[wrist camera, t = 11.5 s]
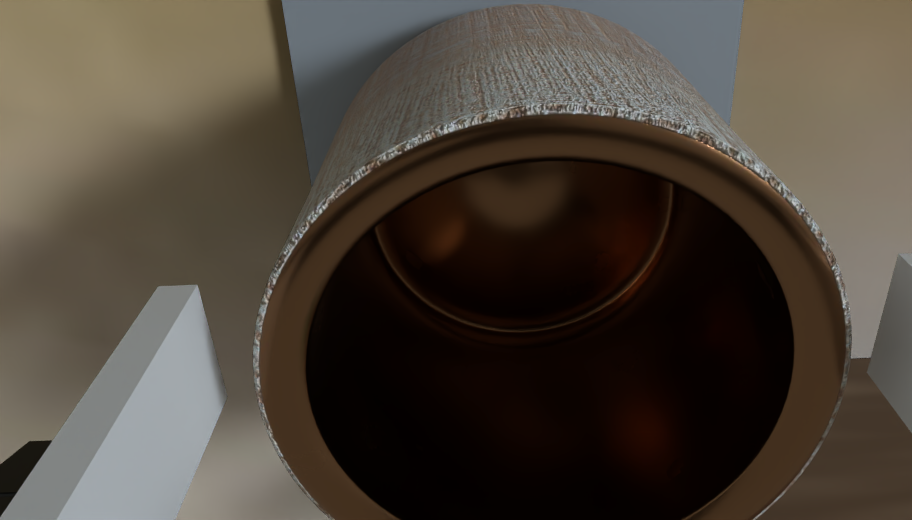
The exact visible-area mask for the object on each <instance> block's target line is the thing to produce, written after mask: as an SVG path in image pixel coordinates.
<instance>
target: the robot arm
mask: <svg viewBox="0 0 912 520" xmlns="http://www.w3.org/2000/svg"><path fill="white" fill-rule="evenodd" d="M867 373H868V375H869V376H870V377H871V379H872V380H873V381H874V383H875V384H876V386H877V387H878V388H879V390H880V391H881V392H882V394H883V395H884V396H885V398H886V399H887V400H888V402H889V403H890V404H891V406H892V407H893V409H894V410H895V411H896V413H897V414H898V415H899V417H900V418H901V419H902V421H903V422H904V423H905V425H906V426H907V427H908V429H909V430H910V431H911V433H912V253H903V254H898V257H897V261H896V265H895V269H894V272H893V276H892V280H891V284H890V287H889V291H888V295H887V299H886V302H885V306H884V310H883V314H882V318H881V321H880V325H879V329H878V333H877V336H876V340H875V344H874V348H873V351H872V355H871V359H870V363H869V366H868V370H867ZM227 397H228V396H227V393H226V389H225V385H224V381H223V378H222V374H221V370H220V367H219V363H218V359H217V355H216V352H215V348H214V344H213V341H212V337H211V333H210V329H209V326H208V322H207V318H206V315H205V311H204V307H203V303H202V300H201V296H200V292H199V288H198V285H177V286H158V287H157V289H156V290H155V292H154V293H153V295H152V296H151V298H150V299H149V300H148V302H147V303H146V305H145V306H144V308H143V309H142V311H141V312H140V314H139V315H138V317H137V318H136V319H135V321H134V322H133V324H132V325H131V327H130V328H129V330H128V331H127V333H126V334H125V336H124V337H123V338H122V340H121V341H120V343H119V344H118V346H117V347H116V349H115V350H114V352H113V353H112V355H111V356H110V357H109V359H108V360H107V362H106V363H105V365H104V366H103V368H102V369H101V371H100V372H99V374H98V375H97V376H96V378H95V379H94V381H93V382H92V384H91V385H90V387H89V388H88V390H87V391H86V393H85V394H84V396H83V397H82V398H81V400H80V401H79V403H78V404H77V406H76V407H75V409H74V410H73V412H72V413H71V415H70V416H69V417H68V419H67V420H66V422H65V423H64V425H63V426H62V428H61V429H60V431H59V432H58V434H57V435H56V436H55V438H54V439H53V441H29V442H28V443H27V444H25V445H24V446H23V447H22V448H20V449H19V450H18V451H17V452H15V453H14V454H13V455H12V456H10V457H9V458H8V459H7V460H5V461H4V462H3V463H2V464H0V520H175V519H176V516H177V514H178V512H179V509H180V507H181V505H182V502H183V500H184V498H185V495H186V493H187V491H188V488H189V486H190V484H191V481H192V479H193V477H194V474H195V472H196V470H197V467H198V465H199V463H200V460H201V458H202V456H203V453H204V451H205V448H206V446H207V444H208V441H209V439H210V437H211V434H212V432H213V430H214V427H215V425H216V423H217V420H218V418H219V416H220V413H221V411H222V409H223V406H224V404H225V402H226V399H227Z"/></svg>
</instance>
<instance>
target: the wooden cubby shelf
mask: <svg viewBox="0 0 912 520" xmlns="http://www.w3.org/2000/svg"><path fill="white" fill-rule="evenodd" d="M870 359H871V358H864V359H850V366H849V372H848V377H847V383H846V386H845V390H844V393H843V397H842V401H841V404H840V406H839V409H838V411H837V414H836V417H835V419H834V421H833V424H832V426H831V428H830V430H829V432H828V434H827V436H826V438H825V440H824V441H823V443H822V445H821V446H820V448H819V450H818V451H817V453H816V455H815V456H814V457H813V459H812V460H811V462H810V463H809V465H808V466H807V467H806V469H805V470H804V471H803V473H802V474H801V475H800V476H799V477H798V479H797V480H796V481H795V482H794V484H793V485H792V486H791V487H790V488H789V489H788V490H787V491H786V492H785V493H784V494H783V495H782V496H781V497H780V498H779V499H778V500H777V501H776V502H775V503H774V504H773V505H772V506H771V507H770V508H769V509H767V510H766V511H765V512H764V513H763V514H762V515H760V516H759V517H758V518H757V519H755V520H912V433H911V431H910V430H909V429H908V427H907V426H906V425H905V423H904V422H903V421H902V419H901V418H900V417H899V415H898V414H897V413H896V411H895V410H894V409H893V407H892V406H891V404H890V403H889V402H888V400H887V399H886V398H885V396H884V395H883V394H882V392H881V391H880V390H879V388H878V387H877V386H876V384H875V383H874V381H873V380H872V379H871V377H870V376H869V375H868V373H867V370H868V366H869V363H870Z"/></svg>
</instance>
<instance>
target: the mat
mask: <svg viewBox="0 0 912 520" xmlns="http://www.w3.org/2000/svg"><path fill="white" fill-rule="evenodd" d="M512 4H545V5H554V6H560V7H566V8H572V9H576V10H580V11H584V12H588V13H591V14H594V15H597V16H600V17H603V18H605V19H607V20H609V21H612V22H614V23H616V24H619V25H620V26H622V27H624V28H626V29H628V30H630V31H632V32H633V33H635V34H636V35H638V36H639V37H641V38H642V39H644V40H645V41H647V42H648V43H649V44H651V45H652V46H653V47H654V48H656V49H657V50H658V51H659V52H660V53H662V54H663V55H664V56H665V57H666V58H667V59H668V60H669V61H670V62H671V63H672V64H673V65H674V66H675V67H676V68H677V69H678V70H679V71H680V72H681V74H682V75H683V76H684V77H685V78H686V79H687V80H688V81H689V82H690V83H691V84H692V86H693V87H694V88H695V89H696V90H697V91H698V92H699V93H700V95H701V96H702V97H703V98H704V99H705V100H706V101H707V102H708V103H709V105H710V106H711V107H712V108H713V109H714V110H715V111H716V112H717V113H718V115H719V116H720V117H721V118H722V119H723V120H724V121H725V122H726V123H727V124H728V125H730V117H731V108H732V99H733V91H734V82H735V74H736V65H737V56H738V48H739V39H740V30H741V22H742V13H743V4H744V0H282V6H283V12H284V18H285V24H286V31H287V37H288V43H289V49H290V55H291V62H292V68H293V74H294V80H295V87H296V93H297V99H298V105H299V112H300V118H301V124H302V130H303V136H304V143H305V149H306V155H307V161H308V168H309V174H310V180H311V186H313V184H314V181H315V179H316V177H317V175H318V173H319V170H320V168H321V166H322V164H323V161H324V159H325V157H326V155H327V152H328V150H329V148H330V145H331V143H332V141H333V139H334V137H335V134H336V132H337V130H338V128H339V126H340V124H341V122H342V119H343V117H344V115H345V113H346V112H347V110H348V108H349V106H350V104H351V102H352V101H353V99H354V98H355V96H356V95H357V93H358V92H359V90H360V89H361V87H362V86H363V85H364V83H365V82H366V81H367V80H368V78H369V77H370V76H371V75H372V74H373V73H374V71H375V70H376V69H377V68H378V67H379V66H380V65H381V64H382V63H383V62H384V61H385V60H386V59H387V58H389V57H390V56H391V55H392V54H393V53H394V52H395V51H397V50H398V49H399V48H401V47H402V46H403V45H404V44H406V43H407V42H409V41H410V40H412V39H413V38H415V37H416V36H418V35H419V34H421V33H423V32H424V31H426V30H428V29H430V28H432V27H434V26H436V25H438V24H440V23H442V22H445V21H447V20H449V19H451V18H454V17H457V16H460V15H463V14H465V13H468V12H472V11H476V10H479V9H483V8H489V7H495V6H500V5H512Z"/></svg>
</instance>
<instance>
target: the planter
mask: <svg viewBox="0 0 912 520" xmlns="http://www.w3.org/2000/svg"><path fill="white" fill-rule="evenodd" d="M851 346H852V335H851V317H850V308H849V302H848V298H847V293H846V288H845V284H844V281H843V278H842V275H841V272H840V269H839V266H838V264H837V261H836V259H835V257H834V255H833V252H832V250H831V248H830V246H829V244H828V242H827V241H826V239H825V237H824V235H823V234H822V232H821V230H820V228H819V227H818V225H817V224H816V222H815V221H814V220H813V218H812V217H811V216H810V214H809V213H808V211H807V210H806V209H805V207H804V206H803V204H802V203H801V202H800V201H799V200H798V199H797V198H796V196H795V195H794V194H793V193H792V192H791V191H790V190H789V189H788V187H787V186H786V185H785V184H784V183H783V182H782V181H781V180H780V179H779V178H778V177H777V176H776V175H775V174H774V173H773V172H772V171H771V170H770V168H769V167H768V166H767V165H766V164H765V163H764V162H763V161H762V160H761V159H760V158H759V157H758V156H757V155H756V154H755V153H754V152H753V151H752V150H751V149H750V148H749V147H748V146H747V145H746V144H745V143H744V141H743V140H742V139H741V138H740V137H739V136H738V135H737V134H736V133H735V132H734V131H733V130H732V129H731V128H730V127H729V125H728V124H727V123H726V122H725V121H724V120H723V119H722V118H721V117H720V116H719V115H718V113H717V112H716V111H715V110H714V109H713V108H712V107H711V106H710V105H709V103H708V102H707V101H706V100H705V99H704V98H703V97H702V96H701V95H700V93H699V92H698V91H697V90H696V89H695V88H694V87H693V86H692V84H691V83H690V82H689V81H688V80H687V79H686V78H685V77H684V76H683V75H682V74H681V72H680V71H679V70H678V69H677V68H676V67H675V66H674V65H673V64H672V63H671V62H670V61H669V60H668V59H667V58H666V57H665V56H664V55H663V54H662V53H660V52H659V51H658V50H657V49H656V48H654V47H653V46H652V45H651V44H649V43H648V42H647V41H645V40H644V39H642V38H641V37H639V36H638V35H636V34H635V33H633V32H632V31H630V30H628V29H626V28H624V27H622V26H620V25H619V24H616V23H614V22H612V21H609V20H607V19H605V18H603V17H600V16H597V15H594V14H591V13H588V12H584V11H580V10H576V9H572V8H566V7H560V6H554V5H545V4H512V5H500V6H495V7H489V8H483V9H479V10H476V11H472V12H468V13H465V14H463V15H460V16H457V17H454V18H451V19H449V20H447V21H445V22H442V23H440V24H438V25H436V26H434V27H432V28H430V29H428V30H426V31H424V32H423V33H421V34H419V35H418V36H416V37H415V38H413V39H412V40H410V41H409V42H407V43H406V44H404V45H403V46H402V47H401V48H399V49H398V50H397V51H395V52H394V53H393V54H392V55H391V56H390V57H389V58H387V59H386V60H385V61H384V62H383V63H382V64H381V65H380V66H379V67H378V68H377V69H376V70H375V71H374V73H373V74H372V75H371V76H370V77H369V78H368V80H367V81H366V82H365V83H364V85H363V86H362V87H361V89H360V90H359V92H358V93H357V95H356V96H355V98H354V99H353V101H352V102H351V104H350V106H349V108H348V110H347V112H346V113H345V115H344V117H343V119H342V122H341V124H340V126H339V128H338V130H337V132H336V134H335V137H334V139H333V141H332V143H331V145H330V148H329V150H328V152H327V155H326V157H325V159H324V161H323V164H322V166H321V168H320V170H319V173H318V175H317V177H316V179H315V181H314V184H313V186H312V188H311V190H310V192H309V194H308V197H307V199H306V201H305V203H304V205H303V207H302V209H301V211H300V213H299V215H298V218H297V220H296V222H295V224H294V226H293V228H292V230H291V232H290V234H289V236H288V238H287V240H286V242H285V244H284V246H283V248H282V250H281V252H280V255H279V257H278V259H277V261H276V263H275V265H274V268H273V270H272V272H271V275H270V277H269V279H268V282H267V285H266V288H265V291H264V294H263V297H262V301H261V304H260V308H259V312H258V317H257V321H256V327H255V335H254V343H253V371H254V383H255V389H256V395H257V401H258V404H259V408H260V412H261V416H262V419H263V422H264V425H265V427H266V430H267V433H268V435H269V438H270V440H271V442H272V444H273V446H274V448H275V450H276V452H277V454H278V456H279V457H280V459H281V461H282V463H283V464H284V466H285V468H286V469H287V471H288V472H289V473H290V475H291V476H292V478H293V479H294V481H295V482H296V483H297V485H298V486H299V487H300V488H301V489H302V491H303V492H304V493H305V494H306V496H307V497H308V498H309V499H310V500H311V501H312V502H313V503H314V504H315V505H316V506H317V507H318V508H319V509H320V510H321V511H322V512H323V513H324V514H325V515H326V516H328V517H329V518H330V519H331V520H755V519H757V518H758V517H759V516H760V515H762V514H763V513H764V512H765V511H766V510H767V509H769V508H770V507H771V506H772V505H773V504H774V503H775V502H776V501H777V500H778V499H779V498H780V497H781V496H782V495H783V494H784V493H785V492H786V491H787V490H788V489H789V488H790V487H791V486H792V485H793V484H794V482H795V481H796V480H797V479H798V477H799V476H800V475H801V474H802V473H803V471H804V470H805V469H806V467H807V466H808V465H809V463H810V462H811V460H812V459H813V457H814V456H815V455H816V453H817V451H818V450H819V448H820V446H821V445H822V443H823V441H824V440H825V438H826V436H827V434H828V432H829V430H830V428H831V426H832V424H833V421H834V419H835V417H836V414H837V411H838V409H839V406H840V404H841V401H842V397H843V393H844V390H845V386H846V383H847V377H848V372H849V366H850V357H851Z"/></svg>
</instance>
